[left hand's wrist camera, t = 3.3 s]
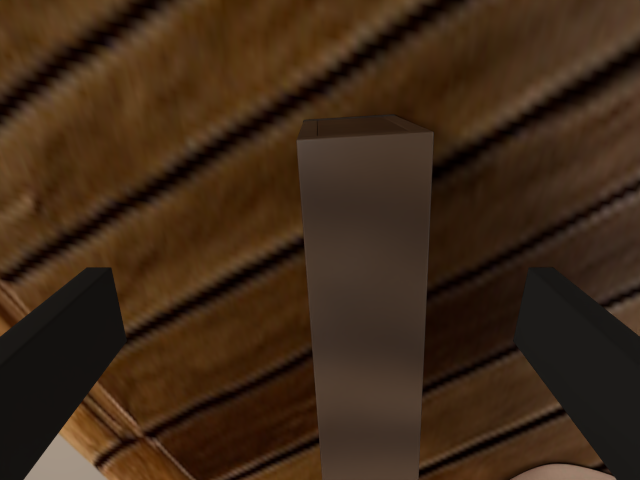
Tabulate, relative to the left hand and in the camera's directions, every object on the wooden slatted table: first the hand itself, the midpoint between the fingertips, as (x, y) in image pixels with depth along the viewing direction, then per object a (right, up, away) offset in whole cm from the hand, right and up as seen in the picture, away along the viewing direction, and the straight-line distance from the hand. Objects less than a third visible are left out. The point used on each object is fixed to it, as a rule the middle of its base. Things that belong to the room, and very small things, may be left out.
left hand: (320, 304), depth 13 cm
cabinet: (+2, 0, +17) cm, 17 cm away
